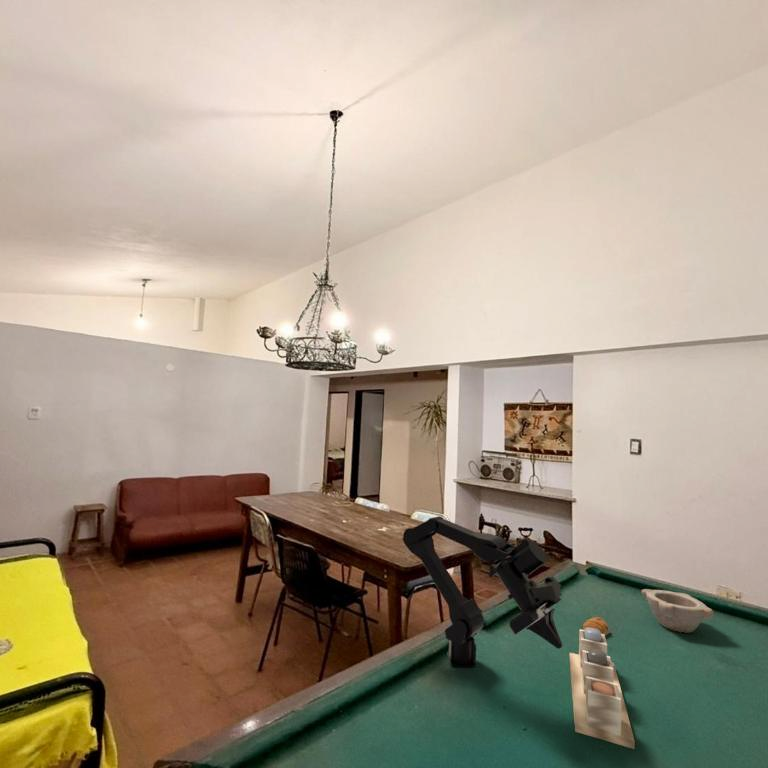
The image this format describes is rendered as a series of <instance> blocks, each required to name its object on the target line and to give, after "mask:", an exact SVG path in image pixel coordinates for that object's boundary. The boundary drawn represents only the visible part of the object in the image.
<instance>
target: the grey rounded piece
mask: <svg viewBox="0 0 768 768" xmlns="http://www.w3.org/2000/svg"><path fill="white" fill-rule="evenodd" d="M607 656H608V654H607V655H606V653H604V652H603V651H601V650H598V649H589V650H588V662H590V663H594V664H599V665H603V666H607Z"/></svg>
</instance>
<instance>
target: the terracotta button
mask: <svg viewBox="0 0 768 768" xmlns="http://www.w3.org/2000/svg"><path fill="white" fill-rule="evenodd" d="M593 691H595V692H599V693H603V694H607V695H611V696H613V689H612V688H611V687H610V686H608V685H606V684H604V683H600V682H595V683H593Z"/></svg>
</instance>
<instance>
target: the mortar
mask: <svg viewBox="0 0 768 768" xmlns="http://www.w3.org/2000/svg"><path fill="white" fill-rule="evenodd" d="M641 594H642V597H643V599H644V600H645V601H646V602H647V603H648V606H649V607H650V610H651V611H652V614H653V616H654V617H655V619H656V621H657V622H658V623H659V625H661V626H662V627H664V628H666V629H668V630H671V631H674V632H677V631H678V632H677V633H682V632H684V634H689V633H693V632H694V631H695V630H696V629H697V628H698V627H699V626H700V625H701V623H702V622H703V621H707V620H708V621H709V620H710V619H712V618H713V617H714V611H713V609H712V608H710V607H708V606H707V605H706V604H705V603H703V602H702V601H700V600H698V599H697V598H695V597H692V596H691V595H690V594H688V593H684V592H675V591H671V590H665V589H664V590H662V589H650V588H649V589H648V588H644V589H641Z"/></svg>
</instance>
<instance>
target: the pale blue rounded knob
mask: <svg viewBox="0 0 768 768" xmlns="http://www.w3.org/2000/svg"><path fill="white" fill-rule="evenodd" d="M585 639H587V640H592V641H596V642H601V632H600V631H599V630H597V629H595V628H590V627H587V628H585Z"/></svg>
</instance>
